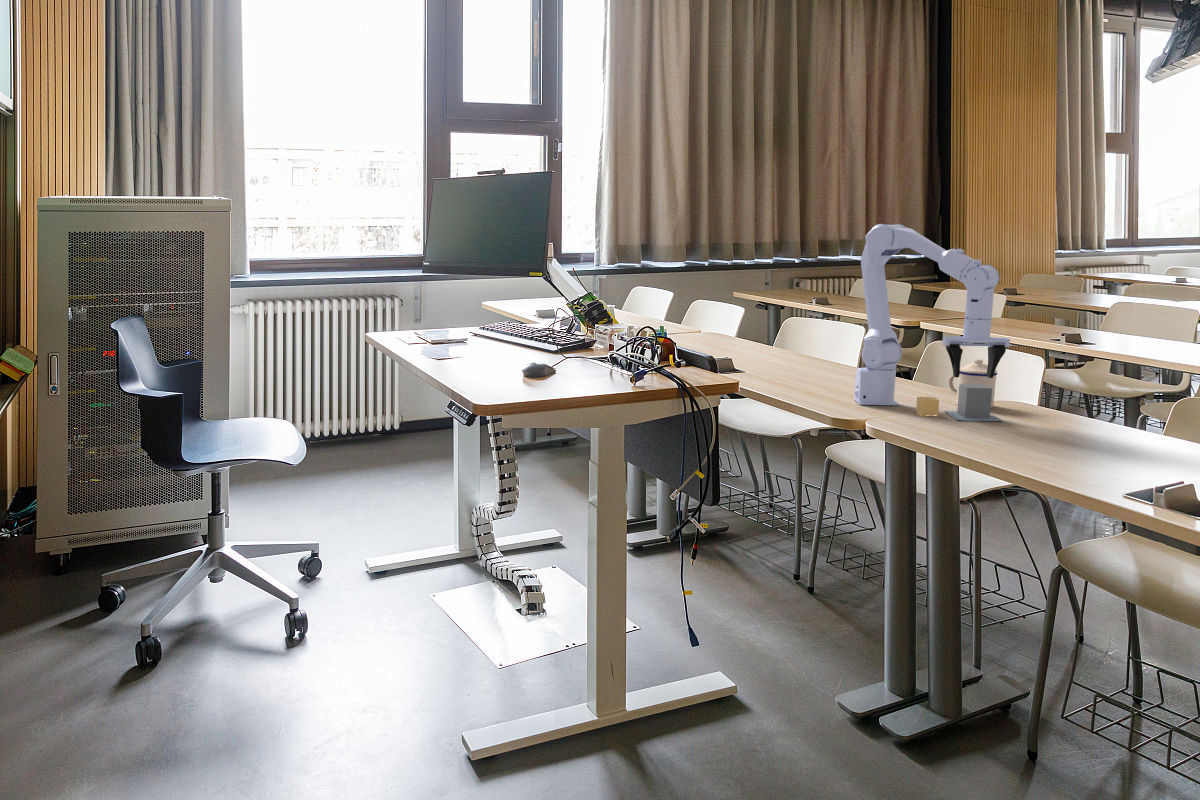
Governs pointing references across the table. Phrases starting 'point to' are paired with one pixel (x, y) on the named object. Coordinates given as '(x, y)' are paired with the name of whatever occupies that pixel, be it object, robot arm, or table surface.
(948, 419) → the table surface
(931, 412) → the ochre cube
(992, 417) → the slate mat
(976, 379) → the teacup with lid
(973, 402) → the blue-gray cube on pad
